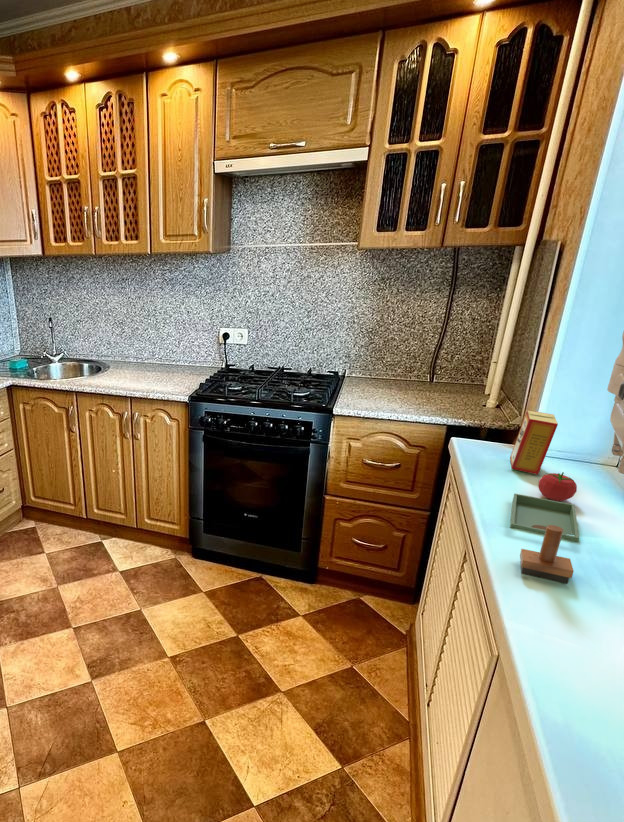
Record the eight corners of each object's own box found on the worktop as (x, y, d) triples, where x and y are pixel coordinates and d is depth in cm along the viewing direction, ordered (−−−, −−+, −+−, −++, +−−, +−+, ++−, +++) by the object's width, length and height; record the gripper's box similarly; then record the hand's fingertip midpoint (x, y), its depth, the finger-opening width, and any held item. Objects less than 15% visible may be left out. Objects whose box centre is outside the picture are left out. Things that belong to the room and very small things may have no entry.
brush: (519, 575, 105) (531, 529, 102) (517, 563, 109) (529, 518, 106) (568, 587, 101) (583, 539, 98) (565, 574, 105) (579, 527, 102)
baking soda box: (538, 474, 151) (558, 423, 145) (511, 468, 154) (530, 417, 148) (535, 463, 159) (554, 413, 152) (509, 457, 162) (527, 408, 155)
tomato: (531, 497, 137) (542, 471, 134) (536, 487, 142) (546, 462, 139) (569, 509, 132) (580, 482, 129) (572, 498, 137) (584, 472, 134)
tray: (511, 503, 135) (514, 493, 134) (571, 514, 128) (574, 504, 127) (508, 534, 120) (511, 523, 119) (576, 549, 114) (579, 538, 113)
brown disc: (548, 530, 120) (549, 526, 120) (554, 539, 117) (555, 534, 116) (527, 528, 122) (529, 523, 121) (533, 536, 118) (534, 532, 118)
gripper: (612, 369, 94) (592, 442, 99) (627, 395, 79) (602, 479, 83) (660, 373, 91) (636, 448, 96) (685, 400, 75) (656, 488, 80)
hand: (620, 463), depth 89 cm, fingers open, 8 cm apart
